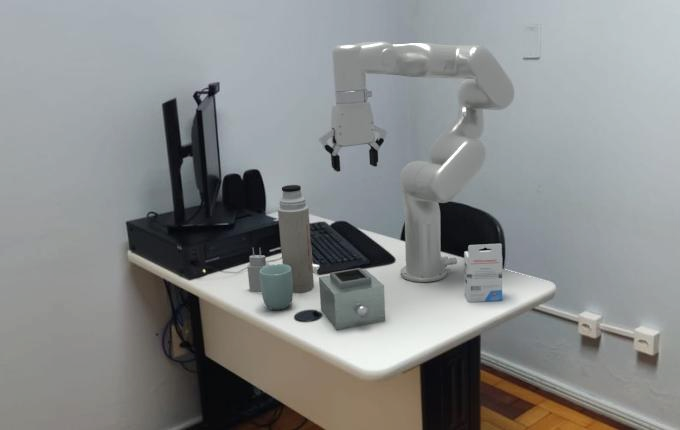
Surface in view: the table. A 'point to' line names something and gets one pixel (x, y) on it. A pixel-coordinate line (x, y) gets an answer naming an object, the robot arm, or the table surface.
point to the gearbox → (352, 298)
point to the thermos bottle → (296, 238)
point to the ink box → (483, 273)
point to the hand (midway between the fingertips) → (355, 168)
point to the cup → (276, 286)
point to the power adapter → (255, 271)
